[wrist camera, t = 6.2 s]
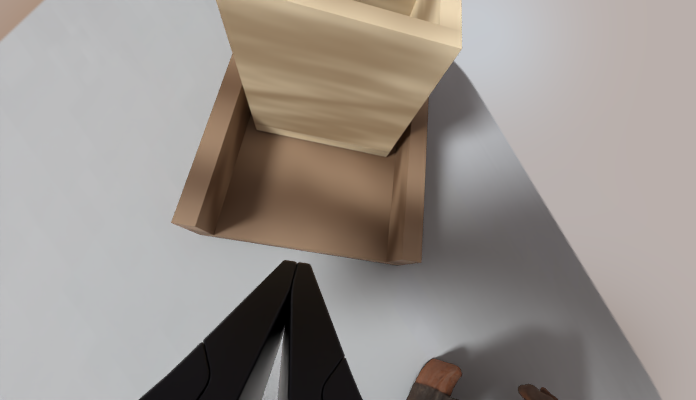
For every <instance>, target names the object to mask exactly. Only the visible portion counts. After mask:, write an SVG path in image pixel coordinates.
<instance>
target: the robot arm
mask: <svg viewBox="0 0 696 400" xmlns="http://www.w3.org/2000/svg"><path fill="white" fill-rule="evenodd" d="M284 328H285V329H284ZM283 332H284V335H283ZM282 336H283V344H282V356H281V367H280V379H279V391H278V400H363V399H362V397H361V395H360V393H359V390H358V388H357V385H356V383H355V380H354V378H353V376H352V373H351V371H350V368H349V365H348V363H347V360H346V358H344V356H345V355H344V352H343V350H342V347H341V344H340V342H339V339H338V336H337V334H336V331H335V329H334V326H333V323H332V321H331V318H330V315H329V313H328V310H327V307H326V305H325V302H324V299H323V297H322V294H321V291H320V289H319V286H318V283H317V281H316V278H315V275H314V273H313V270H312V267H311V265H310V264H307V263H301V262H299V263H296V262H294V261H288V260H285V261H283V262H282V263H281V264H280V265H279V266H278V267H277V268H276V269H275V270H274V271H273V272H272V273H271V274H270V275H269V276H268V277H267V278H266V279H265V280H264V281H263V282H262V283H261V284H260V285H259V286H258V287H257V288H256V289H255V290H254V291H253V292H252V293H251V294H249V295H248V296H247V297H246V298H245V299H244V300H243V301H242V302H241V303H240V304H239V305H238V306H237V307H236V308H235V309H234V310H233V311H232V312H231V313H230V314H229V315H228V316H227V317H226V318H225V319H224V320H223V321H222V322H221V323H220V324H219V325H218V326H217V327H216V328H215V329H214V330H213V331H212V332H211V333H210V334H209V335H208V336H207V337H206V338H205V339H204V340H203V343H200V344H199V345H198V346H197V347H196V348H195V349H194V350H193V351H192V352H191V353H190V354H189V355H188V356H187V357H186V358H185V359H183V360H182V361H181V362H180V363H179V364H178V365H177V366H176V367H175V368H174V369H173V370H172V371H171V372H170V373H169V374H168V375H167V376H165V377H164V378H163V379H162V380H161V381H160V382H158V383H157V384H156V385H155V386H154V387H153V388H152V389H150V390H149V391H148V392H147V393H146V394H145V395H143V396H142V397H141V398H140V399H139V400H262V397H263V394H264V391H265V388H266V385H267V382H268V379H269V376H270V373H271V370H272V367H273V364H274V361H275V358H276V355H277V352H278V349H279V346H280V342H281V339H282Z"/></svg>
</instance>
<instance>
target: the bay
mask: <svg viewBox="0 0 696 400" xmlns="http://www.w3.org/2000/svg"><path fill="white" fill-rule="evenodd" d="M428 100H429V96H428V98H427V99H426V101H425V102H424V104H423V105H422V106H421V108H420V109H419V111H418V112H417V114H416V115H415V116H414V118H413V119H412V121H411V122H410V124H409V125H408V127H407V128H406V129H405V131H404V132H403V134H402V135H401V137H400V138H399V139H398V141H397V142H396V144H395V145H394V147H393V148H392V149H391V151H390V152H389V154H388V155H387V157H384V156H379V155H374V154H370V153H365V152H360V151H355V150H351V149H346V148H341V147H336V146H331V145H327V144H322V143H317V142H312V141H308V140H303V139H298V138H293V137H288V136H284V135H279V134H274V133H269V132H265V131H260V130H257V129H256V126H255V123H254V120H253V117H252V113H251V110H250V107H249V104H248V101H247V97H246V94H245V91H244V88H243V85H242V81H241V78H240V75H239V72H238V69H237V65H236V62H235V59H234V56H233V54H232V57H231V59H230V62H229V65H228V68H227V70H226V73H225V76H224V79H223V81H222V84H221V87H220V90H219V92H218V95H217V98H216V101H215V103H214V106H213V109H212V112H211V114H210V117H209V120H208V123H207V125H206V128H205V131H204V134H203V136H202V139H201V142H200V145H199V147H198V150H197V153H196V156H195V158H194V161H193V164H192V167H191V169H190V172H189V175H188V178H187V180H186V183H185V186H184V189H183V192H182V194H181V197H180V200H179V203H178V205H177V208H176V211H175V214H174V216H173V219H172V222H171V223H173V224H175V225H178V226H180V227H183V228H185V229H188V230H190V231H192V232H195V233H197V234H200V235H206V236H212V237H218V238H225V239H231V240H238V241H244V242H251V243H257V244H263V245H270V246H276V247H283V248H289V249H296V250H302V251H308V252H315V253H321V254H328V255H334V256H340V257H347V258H353V259H360V260H366V261H373V262H379V263H385V264H392V265H405V264H413V263H421V259H422V236H423V214H424V191H425V168H426V145H427V122H428Z"/></svg>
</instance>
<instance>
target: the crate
mask: <svg viewBox="0 0 696 400" xmlns="http://www.w3.org/2000/svg"><path fill="white" fill-rule="evenodd" d="M216 2H217V5H218V8H219V11H220V14H221V18H222V21H223V24H224V27H225V30H226V34H227V37H228V40H229V43H230V46H231V50H232V53H233V56H234V59H235V62H236V65H237V69H238V72H239V75H240V78H241V81H242V85H243V88H244V91H245V94H246V97H247V101H248V104H249V107H250V110H251V113H252V117H253V120H254V123H255V126H256V129H257V130H260V131H265V132H269V133H274V134H279V135H284V136H288V137H293V138H298V139H303V140H308V141H312V142H317V143H322V144H327V145H331V146H336V147H341V148H346V149H351V150H355V151H360V152H365V153H370V154H374V155H379V156H384V157H387V155H388V154H389V152H390V151H391V149H392V148H393V147H394V145H395V144H396V142H397V141H398V139H399V138H400V137H401V135H402V134H403V132H404V131H405V129H406V128H407V127H408V125H409V124H410V122H411V121H412V119H413V118H414V116H415V115H416V114H417V112H418V111H419V109H420V108H421V106H422V105H423V104H424V102H425V101H426V99H427V98H428V96H429V95H430V94H431V92H432V91H433V89H434V88H435V86H436V85H437V84H438V82H439V81H440V79H441V78H442V76H443V75H444V74H445V72H446V71H447V69H448V68H449V66H450V65H451V64H452V62H453V61H454V59H455V58H456V56H457V55H458V54H459V52H460V51H461V49H462V17H461V16H462V14H461V13H462V8H461V7H462V6H461V5H462V3H461V0H216Z"/></svg>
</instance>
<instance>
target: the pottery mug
mask: <svg viewBox="0 0 696 400" xmlns="http://www.w3.org/2000/svg"><path fill="white" fill-rule="evenodd" d="M461 376H462V372H461V369H460V368H459V367H458V366H456V365H454V364H451V363H446V362H444V361H440V360H437V359H431V360H430V361H429V362H428V363H427V364H426V365H425V366H424V368H423V369H422V370H421V371H420V373H419V375H418V377H417V379H416V381H415V383H414V384H413V386H412V388H411V391H410V393H409V396H408V397H407V399H406V400H457V399H455V398H451V397H450V396H451V394H452V390H453V388H454V387H455V384H456V383H457V381H458V380H459V378H460V377H461ZM518 391H519V393H520V395H521V396H522V397H523V398H524V399H525V400H558V399H557V398H556V397H555V396H553V395H552V394H550V392H549V391H548V390H547V389H546V388H544V387H542V388H541V389H540V390H539V389H537V388H536V387H535V386H534V385H531V384H525V385H520V386H519V387H518Z"/></svg>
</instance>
